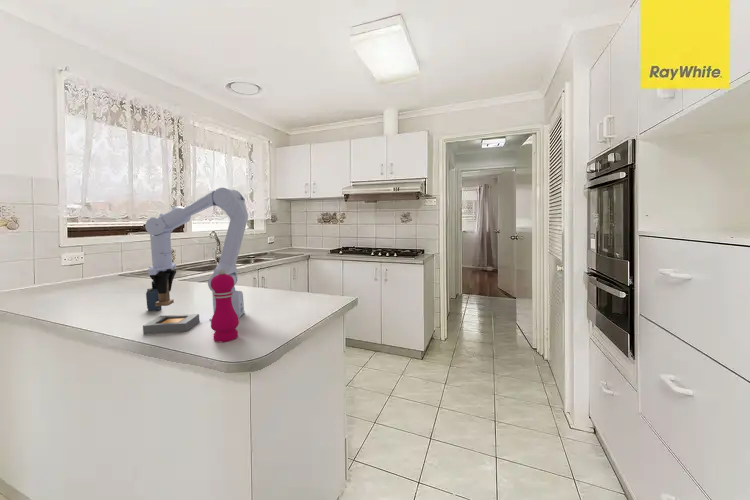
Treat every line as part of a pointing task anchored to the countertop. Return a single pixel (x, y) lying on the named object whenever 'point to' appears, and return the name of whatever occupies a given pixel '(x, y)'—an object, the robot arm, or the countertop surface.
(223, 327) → the pepper mill
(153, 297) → the vaping device
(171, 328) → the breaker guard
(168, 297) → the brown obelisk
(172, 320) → the button
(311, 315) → the countertop surface
